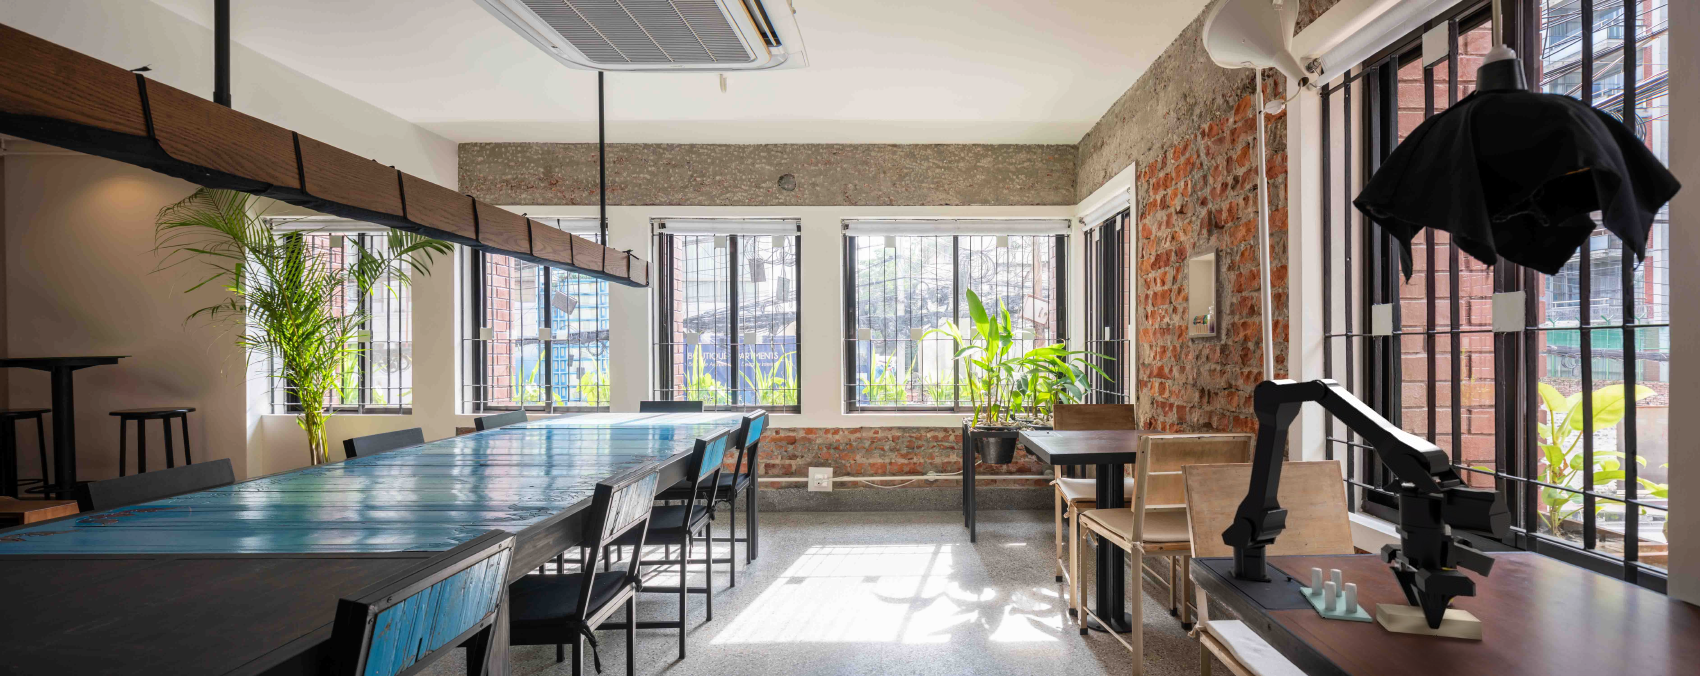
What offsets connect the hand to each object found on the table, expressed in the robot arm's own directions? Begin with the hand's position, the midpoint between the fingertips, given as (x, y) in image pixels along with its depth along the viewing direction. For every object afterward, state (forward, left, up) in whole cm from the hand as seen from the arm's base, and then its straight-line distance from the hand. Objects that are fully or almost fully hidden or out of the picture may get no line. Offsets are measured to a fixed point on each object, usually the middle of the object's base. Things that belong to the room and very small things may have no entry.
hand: (1426, 622), depth 112 cm
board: (0, 0, -1) cm, 1 cm away
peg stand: (-8, -11, -1) cm, 13 cm away
